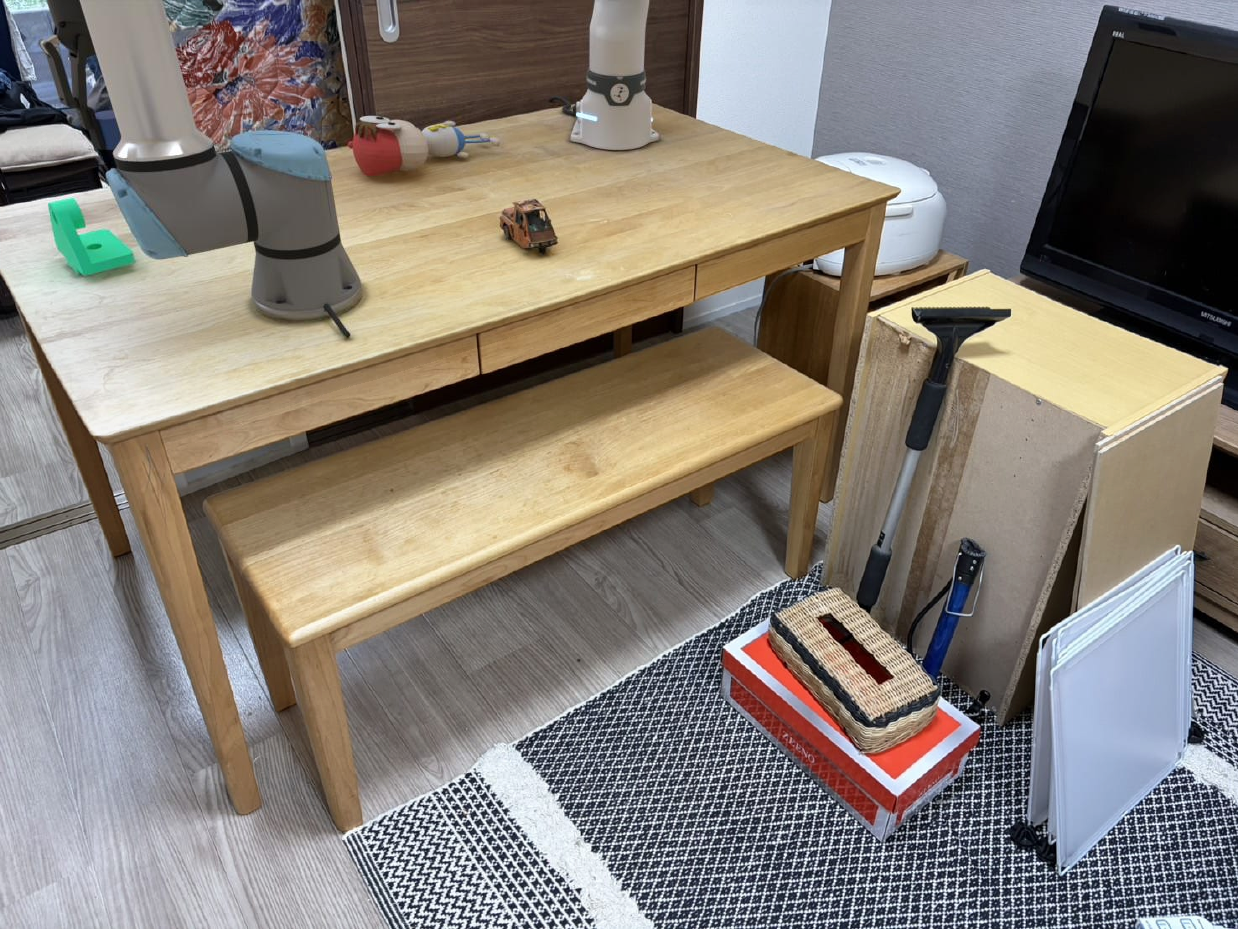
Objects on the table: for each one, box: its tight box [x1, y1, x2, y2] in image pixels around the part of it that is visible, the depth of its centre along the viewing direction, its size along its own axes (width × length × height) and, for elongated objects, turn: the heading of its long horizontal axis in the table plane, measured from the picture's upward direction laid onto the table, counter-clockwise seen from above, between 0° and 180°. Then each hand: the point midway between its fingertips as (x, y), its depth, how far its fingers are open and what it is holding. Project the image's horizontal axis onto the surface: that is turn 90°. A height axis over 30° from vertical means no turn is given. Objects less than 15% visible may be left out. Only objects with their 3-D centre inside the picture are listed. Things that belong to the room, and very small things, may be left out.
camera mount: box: [47, 197, 136, 277], centre depth 139 cm, size 12×8×10 cm, turn 42°
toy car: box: [499, 198, 559, 255], centre depth 150 cm, size 6×12×7 cm, turn 39°
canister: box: [95, 109, 122, 151], centre depth 154 cm, size 5×5×5 cm
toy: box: [347, 115, 502, 177], centre depth 180 cm, size 18×10×30 cm
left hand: (116, 143), depth 155 cm, fingers closed on canister, 5 cm apart
